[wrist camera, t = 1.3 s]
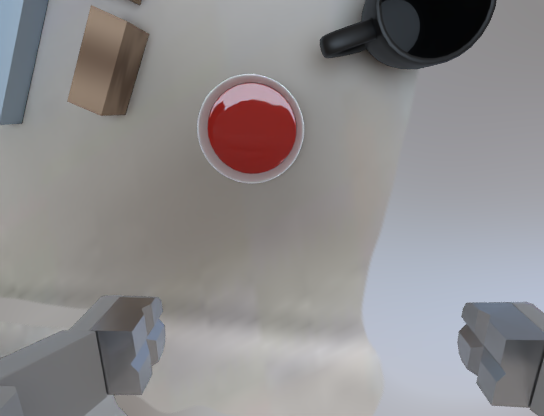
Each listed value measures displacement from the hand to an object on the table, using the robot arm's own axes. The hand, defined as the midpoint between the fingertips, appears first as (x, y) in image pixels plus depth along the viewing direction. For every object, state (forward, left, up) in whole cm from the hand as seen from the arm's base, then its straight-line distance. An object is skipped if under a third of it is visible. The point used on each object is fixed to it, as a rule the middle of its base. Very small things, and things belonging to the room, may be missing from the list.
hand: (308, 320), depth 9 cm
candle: (+2, +4, -28) cm, 28 cm away
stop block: (+2, +18, -28) cm, 33 cm away
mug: (+14, -3, -28) cm, 31 cm away
